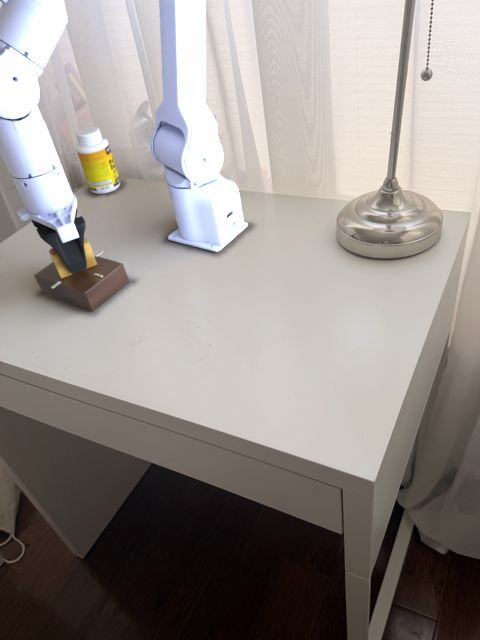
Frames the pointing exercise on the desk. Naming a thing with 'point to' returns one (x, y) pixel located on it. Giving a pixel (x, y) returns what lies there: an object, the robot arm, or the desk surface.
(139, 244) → the desk surface
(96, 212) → the desk surface
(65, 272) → the thumbturn
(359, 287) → the desk surface
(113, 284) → the plate
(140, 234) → the desk surface
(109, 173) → the supplement bottle
